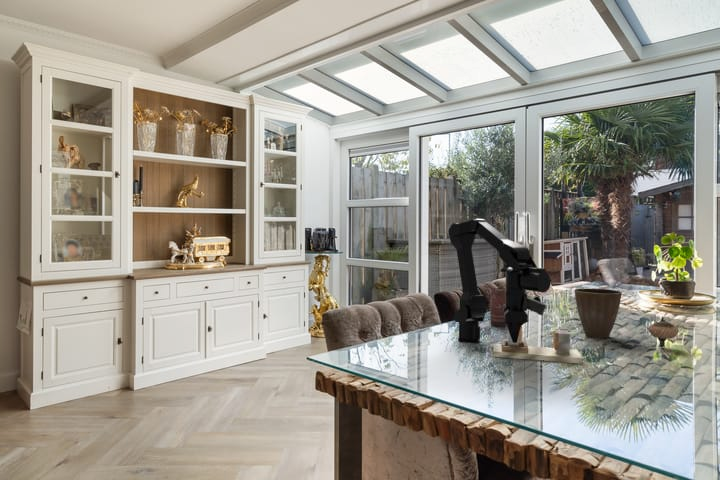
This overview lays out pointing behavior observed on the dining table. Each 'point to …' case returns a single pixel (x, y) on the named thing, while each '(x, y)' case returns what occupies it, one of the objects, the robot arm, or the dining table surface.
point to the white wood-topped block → (510, 342)
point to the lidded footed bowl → (663, 331)
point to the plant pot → (597, 310)
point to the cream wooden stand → (541, 350)
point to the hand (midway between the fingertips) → (514, 340)
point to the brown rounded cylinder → (497, 307)
